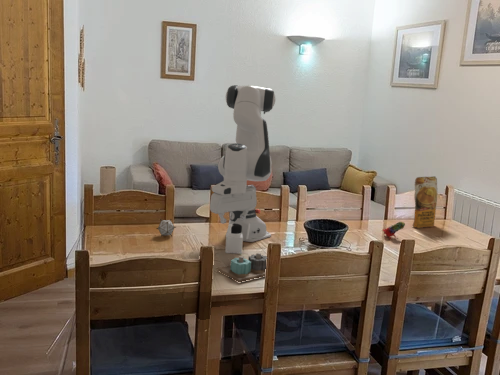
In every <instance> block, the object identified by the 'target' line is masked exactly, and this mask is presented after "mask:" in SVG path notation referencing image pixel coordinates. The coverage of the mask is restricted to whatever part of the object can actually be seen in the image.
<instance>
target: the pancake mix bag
mask: <svg viewBox="0 0 500 375" xmlns="http://www.w3.org/2000/svg"><path fill="white" fill-rule="evenodd" d="M414 203H415V204H414V205H415V206H414V219H413V224H412V226H413V227H412V228H415V227H417V228H416V229H422V228H423V227H426V228H432V227H433V226H435V219H436V214H437V213H436V212H437V204H438V178H437V177H436V176H418V177H416V178H415V180H414Z"/></svg>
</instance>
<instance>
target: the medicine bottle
mask: <svg viewBox="0 0 500 375" xmlns="http://www.w3.org/2000/svg"><path fill="white" fill-rule="evenodd" d="M227 230H228V233H227V232H226V234H225V250H224V251H225V253H226V254H239V253H241V254H243V242H244V241H243V234H242V226H241V225H240V224H236V223H233V224H229V223H228V225H227Z"/></svg>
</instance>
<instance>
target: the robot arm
mask: <svg viewBox="0 0 500 375" xmlns="http://www.w3.org/2000/svg"><path fill="white" fill-rule="evenodd" d="M225 102H226V106H228V108H230V109H233V113H232V114H233V121H234V123H235V125H236V134H235V142H236V143H231V144H228V145H227V147H226V151H225V154H224V155H223V156H222V157H221V158H220V159H219V162H218V166H217V168H218V172H219V174H220V175H221V176H222V177H223V180H222V181H221V182H219V183H217V184H216V185H213V186H212V187H211V191H212V192H213V193H212V194H211V196H210V203H209V209H210V212H211V213H212V214H215V215H217V214H218V217H219V218H220V224H227V218H225V217H224V216H225V213H228V214H229V217H228V218H229V220H228V225H229V224H233V223H236V224H240V225H241V226H242V234H243V242H249V243H253V242H257V241H260V240H264V239H268V238H271V237H272V234H271V233H270V232H268V231H267V225H266V222H265V221H263V220H262V219H261V218H260V217H258V216H257V214H258V215H259V214H260V213H262V212H261V209H259V208H256V207H257V204H258V202H257V187H256V186H255V185H254V184H249V185H247V182H248V181H250V182H251V181H252V182H265V181H267V180H268V179H270V177H271V175H272V172H273V171H272V170H273V169H272V167H273V162H272V156H271V153H270V143H269V142H270V141H269V131H268V123H267V120H266V119H264V117H262V112H263V115H265V114H266V113H269V112H270V111H272V109H273V108H274V106H275V105H276V104H275V103H276V95H275V92H274V89H272V88H269V87H261V86H259V85H258V86H257V85H230V86H229V87H228V88H227V90H226V92H225ZM226 233H228V229H227V230H226Z"/></svg>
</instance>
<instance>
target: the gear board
mask: <svg viewBox="0 0 500 375" xmlns="http://www.w3.org/2000/svg"><path fill="white" fill-rule="evenodd" d="M238 258H239V262H240V263H243V260H244V256H238ZM267 258H268V257H267V255H264V254H262V253H261V252H257V253H256V254H251V255H249V256H248V259H247V260H249V261H250V262H251V271H250V272H248V274H237V273H234V272H232V270H230V269H231V264H230V265H229V264H228V265H224V266H219V267H217V272H218V271H220V272H221V273H220V272H219V273H220V274H222V273H223V274H222V275H224V274H225V275H227V276H229V277H231V278H233V279H234V280H236V281H238V282H242V281H246V280H250V279H254V278H259V277H263V276H265V269H266V259H267ZM225 275H224V276H225ZM227 276H226V277H227ZM229 277H228V278H229ZM234 280H233V281H234ZM236 281H235V282H236Z"/></svg>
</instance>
